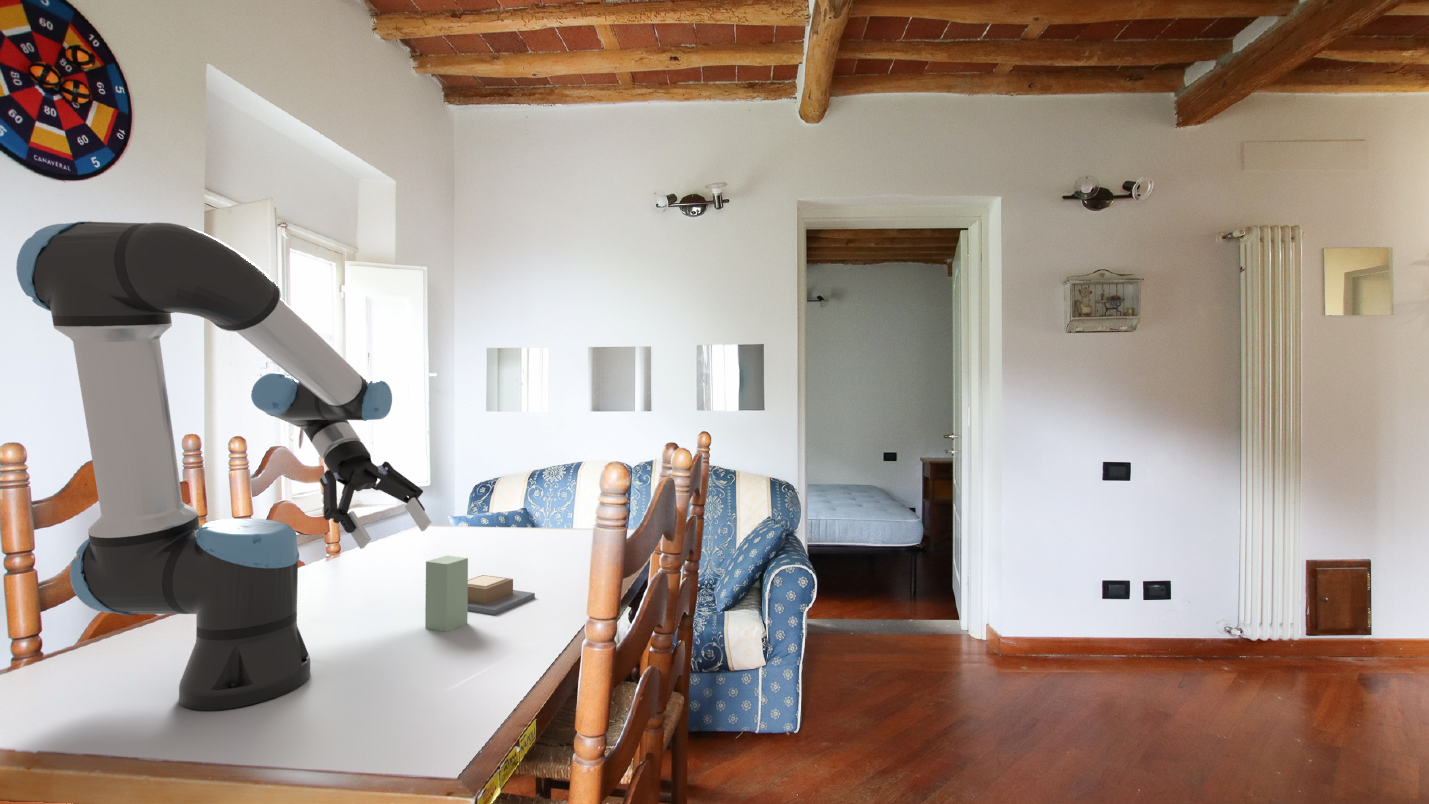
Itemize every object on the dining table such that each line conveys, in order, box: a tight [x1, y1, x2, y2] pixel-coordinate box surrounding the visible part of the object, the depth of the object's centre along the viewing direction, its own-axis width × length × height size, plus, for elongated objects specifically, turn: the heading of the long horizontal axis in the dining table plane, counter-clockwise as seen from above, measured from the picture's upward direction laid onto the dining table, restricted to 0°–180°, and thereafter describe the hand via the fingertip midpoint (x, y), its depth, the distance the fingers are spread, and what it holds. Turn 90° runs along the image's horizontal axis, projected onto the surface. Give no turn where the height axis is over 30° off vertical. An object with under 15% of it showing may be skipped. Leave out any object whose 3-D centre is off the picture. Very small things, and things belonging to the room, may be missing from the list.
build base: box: [467, 574, 536, 616], centre depth 131 cm, size 12×16×4 cm
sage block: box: [424, 555, 469, 633], centre depth 116 cm, size 5×5×12 cm
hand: (398, 535), depth 121 cm, fingers open, 13 cm apart
